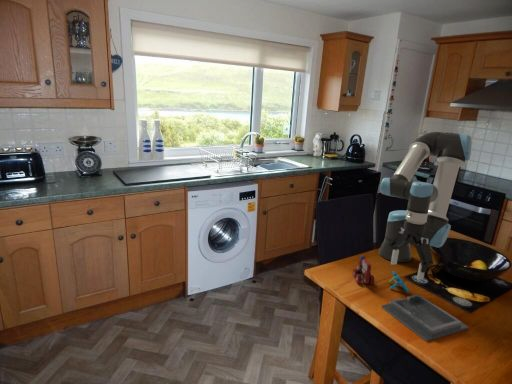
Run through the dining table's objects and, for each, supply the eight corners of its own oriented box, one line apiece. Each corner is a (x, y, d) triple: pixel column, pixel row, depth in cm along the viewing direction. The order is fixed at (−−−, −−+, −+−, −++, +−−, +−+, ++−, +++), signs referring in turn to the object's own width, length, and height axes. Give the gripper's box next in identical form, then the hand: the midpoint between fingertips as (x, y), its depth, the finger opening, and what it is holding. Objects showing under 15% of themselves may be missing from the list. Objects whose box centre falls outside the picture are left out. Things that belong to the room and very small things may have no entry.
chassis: (420, 298, 135) (421, 291, 134) (468, 328, 117) (469, 321, 116) (381, 307, 127) (382, 300, 126) (426, 341, 109) (427, 333, 108)
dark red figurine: (366, 274, 152) (369, 252, 150) (374, 288, 140) (378, 265, 138) (350, 273, 152) (353, 251, 150) (358, 287, 140) (361, 264, 138)
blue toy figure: (414, 295, 134) (399, 277, 133) (401, 303, 136) (386, 285, 134) (405, 281, 145) (391, 264, 144) (393, 289, 146) (379, 272, 145)
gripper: (384, 212, 142) (377, 259, 147) (436, 233, 120) (425, 287, 125) (398, 211, 145) (390, 257, 150) (450, 231, 123) (439, 284, 128)
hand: (406, 271), depth 137 cm, fingers open, 13 cm apart
